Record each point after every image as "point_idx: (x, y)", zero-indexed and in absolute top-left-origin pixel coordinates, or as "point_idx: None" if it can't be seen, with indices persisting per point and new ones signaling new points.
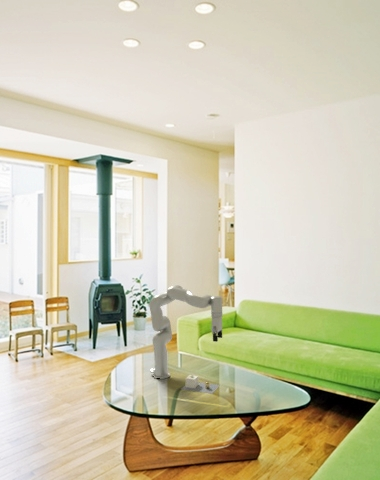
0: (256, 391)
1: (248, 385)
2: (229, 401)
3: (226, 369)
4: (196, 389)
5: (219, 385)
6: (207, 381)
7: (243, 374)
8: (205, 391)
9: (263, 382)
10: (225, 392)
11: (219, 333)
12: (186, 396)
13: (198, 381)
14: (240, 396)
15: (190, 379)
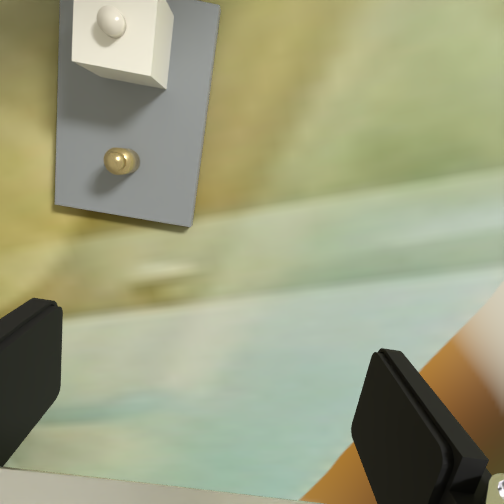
0: (176, 402)
1: (243, 363)
2: (23, 299)
3: (484, 219)
4: (87, 92)
5: (183, 225)
6: (117, 161)
7: (399, 325)
8: (73, 158)
9: (293, 423)
10: (127, 265)
11: (404, 471)
12: (4, 43)
13: (160, 84)
14: (98, 341)
15: (74, 22)
